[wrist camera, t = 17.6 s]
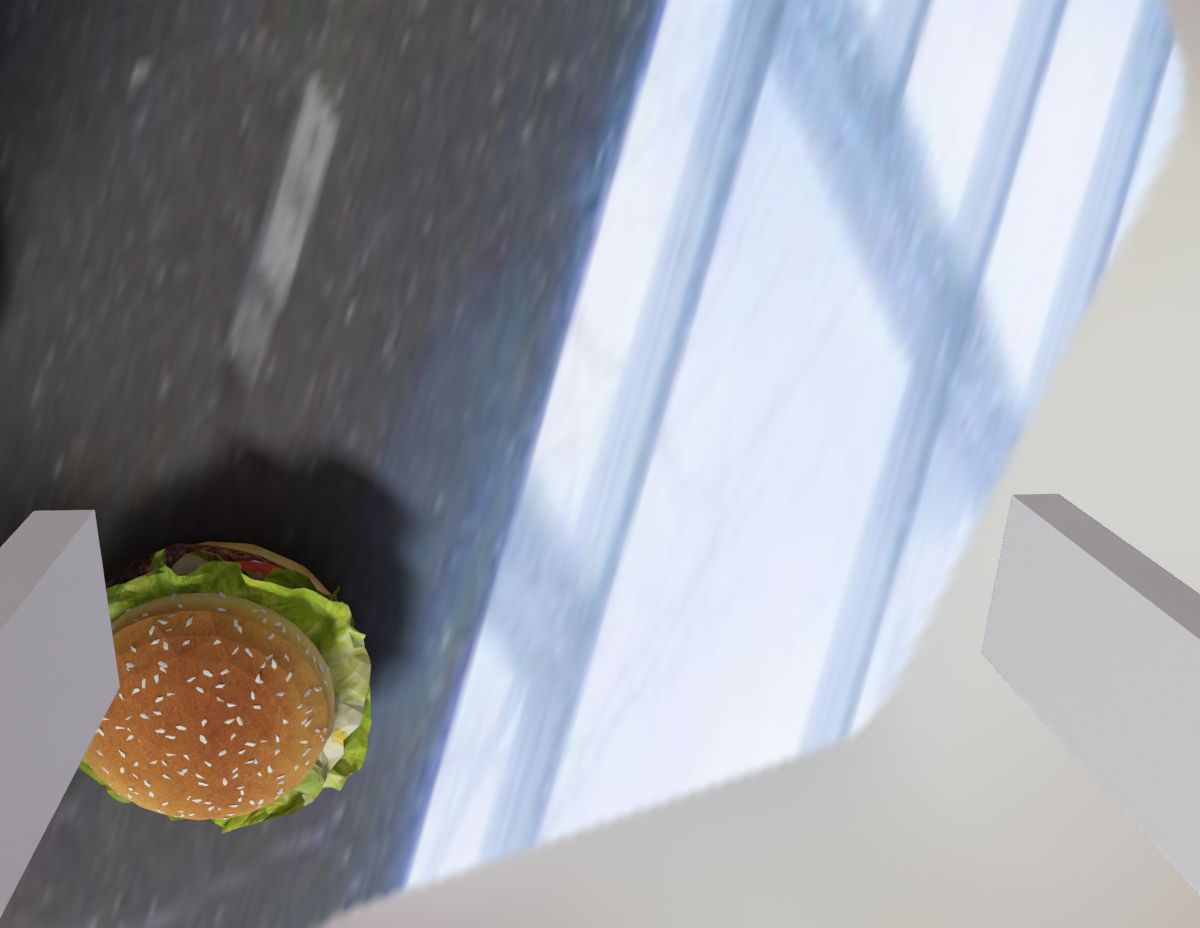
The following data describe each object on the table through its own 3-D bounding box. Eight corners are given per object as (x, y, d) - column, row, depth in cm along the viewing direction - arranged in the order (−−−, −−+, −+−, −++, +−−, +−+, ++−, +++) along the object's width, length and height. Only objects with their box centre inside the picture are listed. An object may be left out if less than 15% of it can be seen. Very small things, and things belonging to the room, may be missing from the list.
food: (334, 794, 55) (317, 909, 47) (52, 722, 51) (-14, 835, 44) (427, 571, 51) (424, 658, 43) (130, 476, 47) (72, 553, 40)
